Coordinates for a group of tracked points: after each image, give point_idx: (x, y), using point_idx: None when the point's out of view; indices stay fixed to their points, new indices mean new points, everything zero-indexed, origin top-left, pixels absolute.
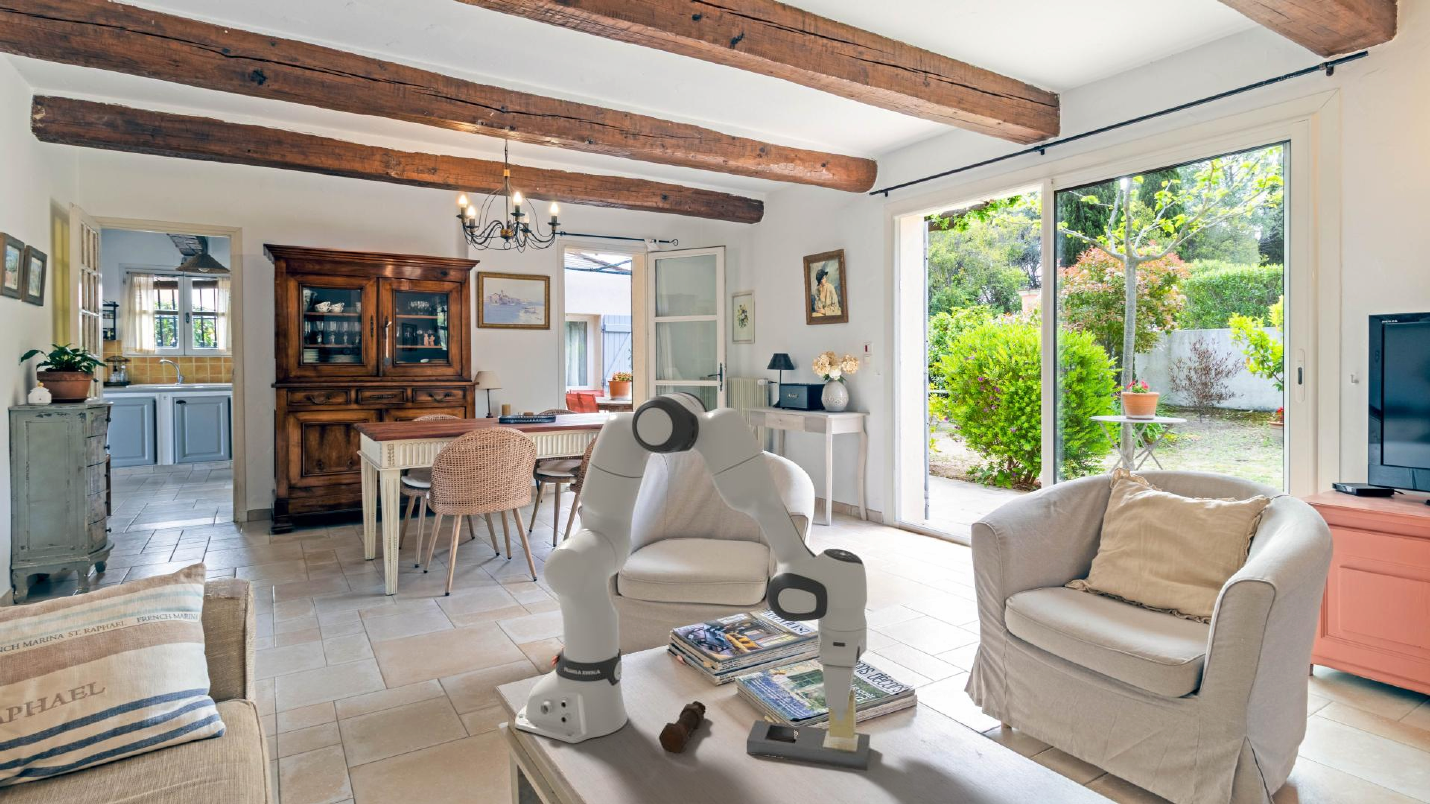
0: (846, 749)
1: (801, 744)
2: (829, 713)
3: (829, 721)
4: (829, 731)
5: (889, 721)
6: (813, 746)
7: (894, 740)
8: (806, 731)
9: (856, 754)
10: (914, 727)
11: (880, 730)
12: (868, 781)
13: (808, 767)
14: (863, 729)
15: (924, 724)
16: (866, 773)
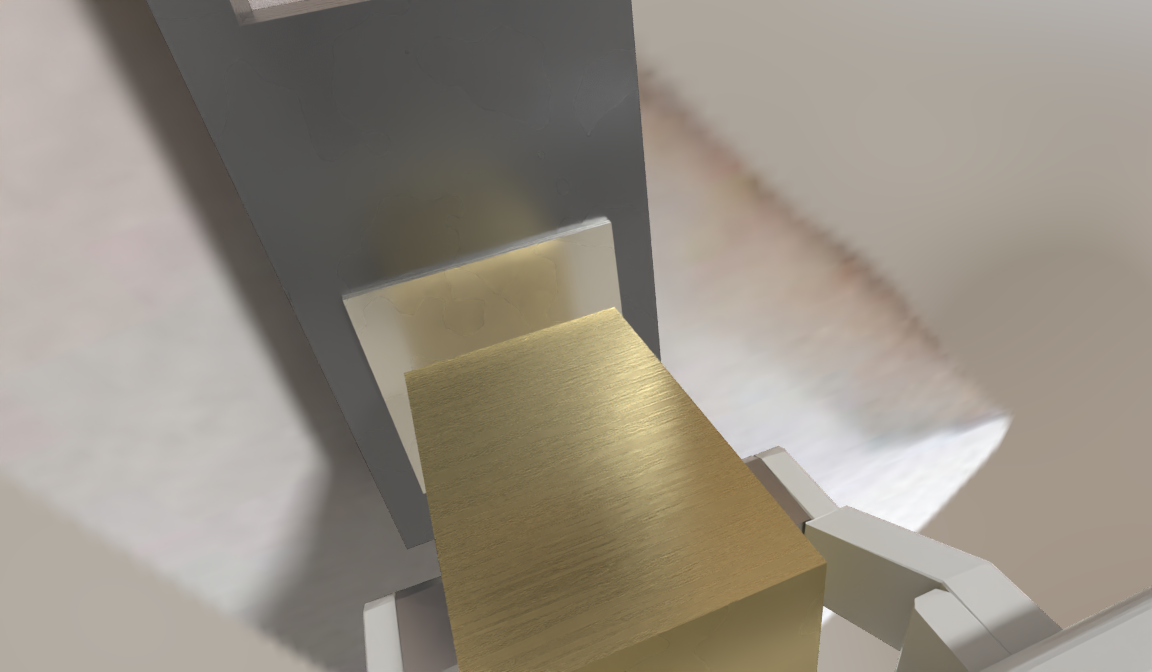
0: (408, 444)
1: (267, 103)
2: (436, 541)
3: (423, 470)
4: (410, 402)
5: (906, 371)
6: (309, 221)
7: (740, 455)
8: (544, 53)
9: (392, 503)
10: (865, 466)
11: (818, 373)
12: (289, 534)
13: (171, 188)
14: (814, 302)
15: (893, 482)
16: (364, 495)
